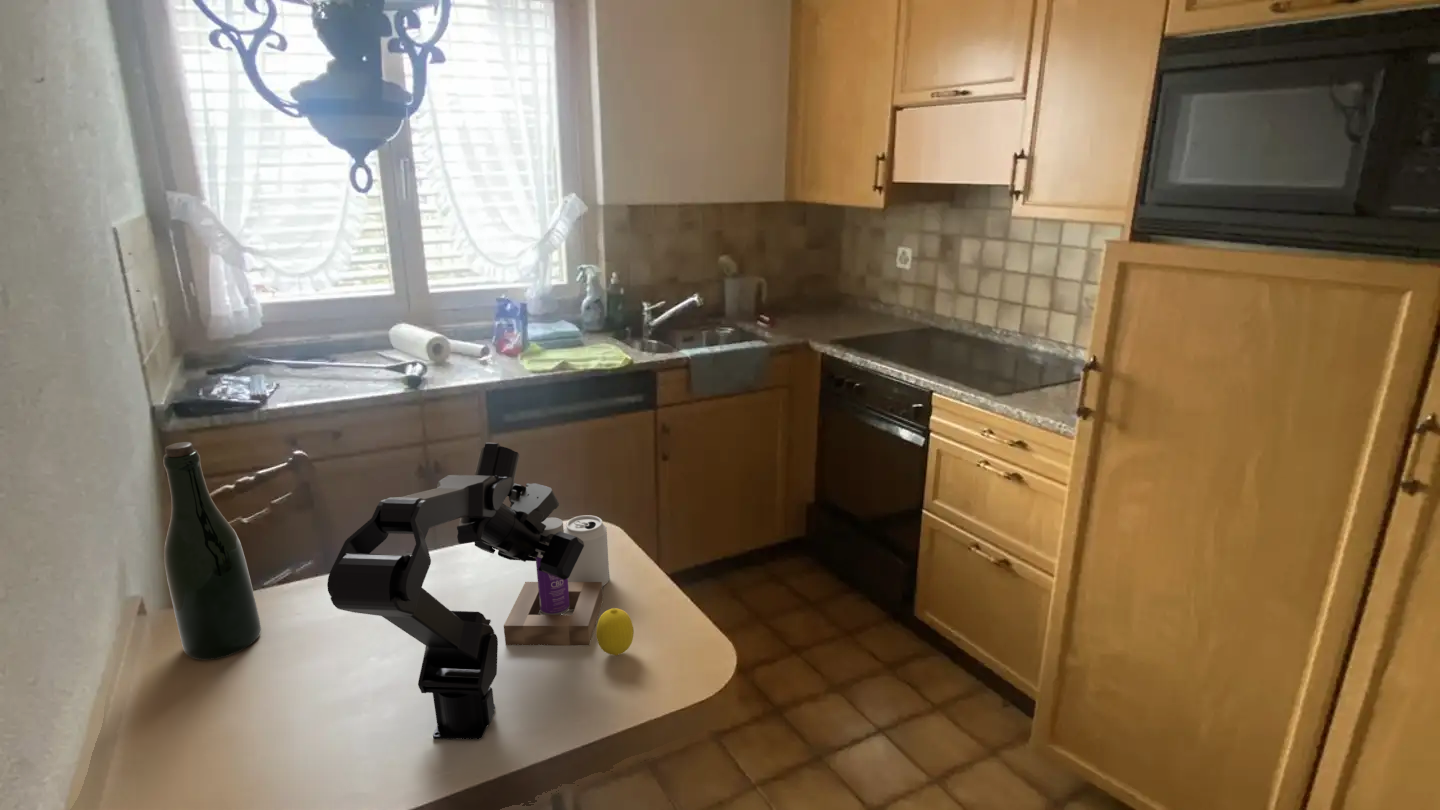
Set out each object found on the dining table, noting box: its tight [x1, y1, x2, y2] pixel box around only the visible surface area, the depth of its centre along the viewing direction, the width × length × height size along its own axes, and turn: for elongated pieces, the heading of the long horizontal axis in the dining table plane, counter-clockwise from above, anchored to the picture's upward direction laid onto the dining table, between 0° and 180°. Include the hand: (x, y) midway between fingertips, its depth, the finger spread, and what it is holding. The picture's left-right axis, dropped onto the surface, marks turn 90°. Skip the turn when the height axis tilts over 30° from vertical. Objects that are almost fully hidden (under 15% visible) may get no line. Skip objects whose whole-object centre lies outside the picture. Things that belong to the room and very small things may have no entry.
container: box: [535, 517, 570, 615], centre depth 125 cm, size 5×5×15 cm
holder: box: [503, 581, 604, 647], centre depth 127 cm, size 13×13×4 cm
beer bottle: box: [162, 441, 262, 661], centre depth 118 cm, size 10×10×33 cm
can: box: [563, 514, 610, 588], centre depth 137 cm, size 8×8×12 cm
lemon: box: [595, 607, 634, 657], centre depth 118 cm, size 6×6×8 cm
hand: (557, 562), depth 126 cm, fingers closed on container, 5 cm apart
